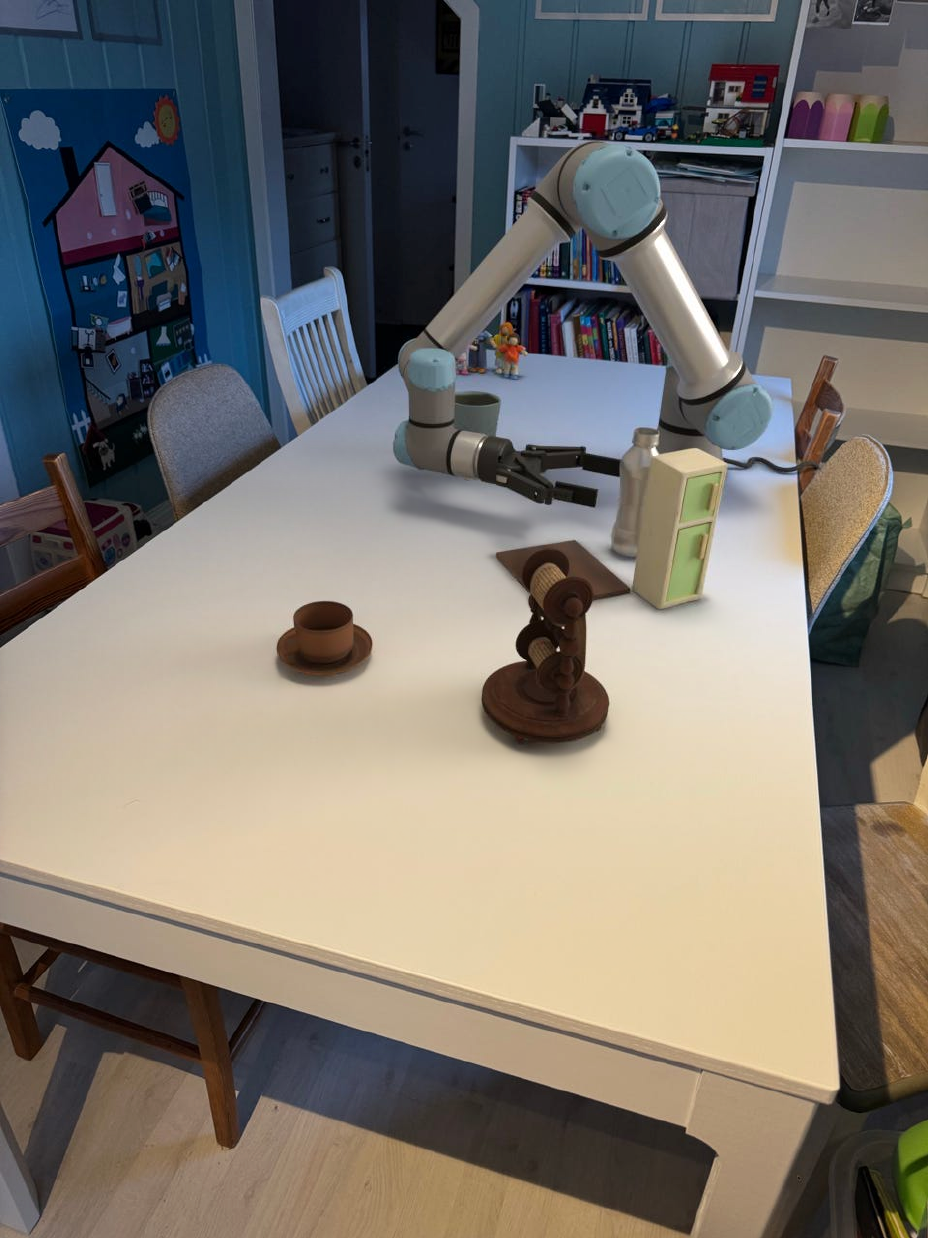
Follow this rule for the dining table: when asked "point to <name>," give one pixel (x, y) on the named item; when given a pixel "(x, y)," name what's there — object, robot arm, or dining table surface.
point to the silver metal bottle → (633, 490)
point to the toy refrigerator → (678, 526)
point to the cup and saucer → (324, 640)
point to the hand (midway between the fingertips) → (610, 483)
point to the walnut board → (579, 564)
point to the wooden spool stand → (549, 661)
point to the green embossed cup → (476, 412)
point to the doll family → (504, 352)
